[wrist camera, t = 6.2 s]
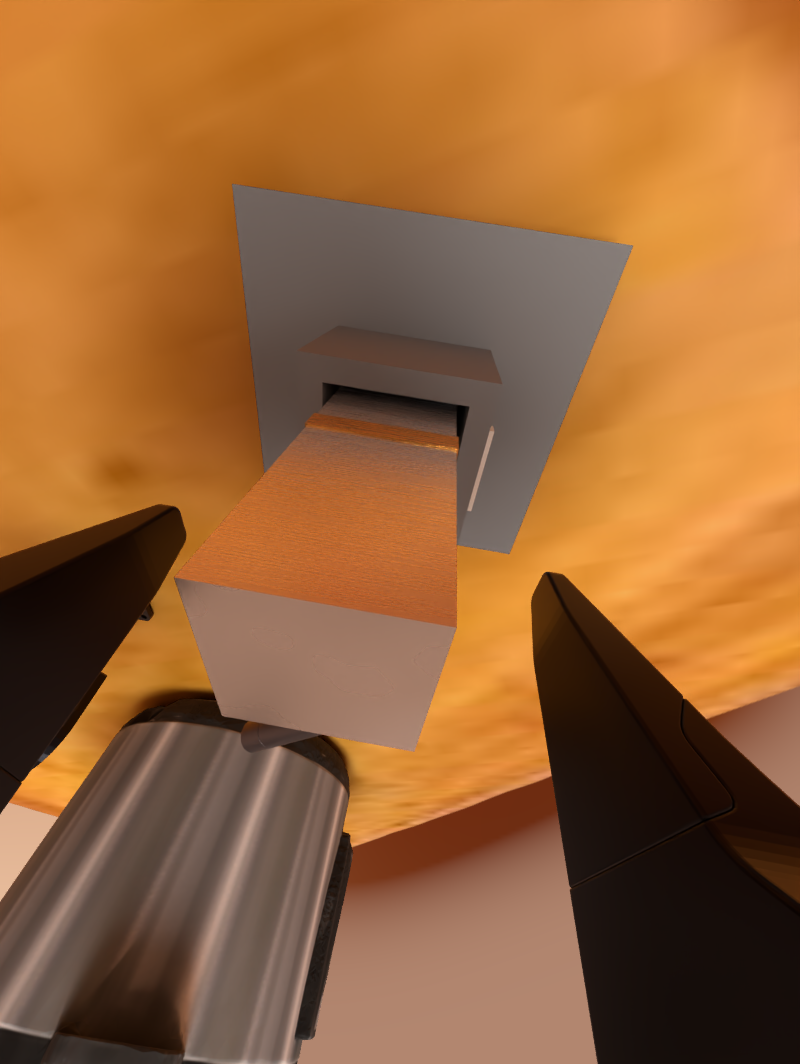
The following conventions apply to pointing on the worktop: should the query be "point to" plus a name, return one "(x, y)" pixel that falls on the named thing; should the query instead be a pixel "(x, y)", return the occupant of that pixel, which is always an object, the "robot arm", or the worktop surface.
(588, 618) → the robot arm
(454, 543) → the steel column
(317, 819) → the pressure cooker
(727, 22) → the worktop surface
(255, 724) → the portable electronic device stand
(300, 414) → the grey socket plate
